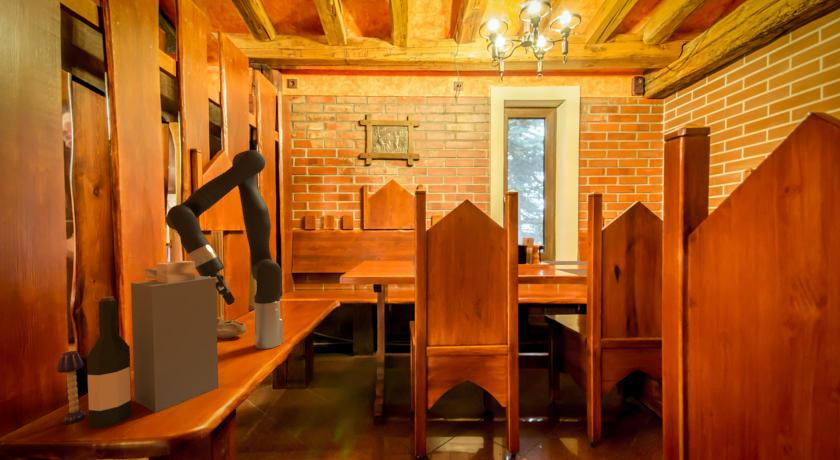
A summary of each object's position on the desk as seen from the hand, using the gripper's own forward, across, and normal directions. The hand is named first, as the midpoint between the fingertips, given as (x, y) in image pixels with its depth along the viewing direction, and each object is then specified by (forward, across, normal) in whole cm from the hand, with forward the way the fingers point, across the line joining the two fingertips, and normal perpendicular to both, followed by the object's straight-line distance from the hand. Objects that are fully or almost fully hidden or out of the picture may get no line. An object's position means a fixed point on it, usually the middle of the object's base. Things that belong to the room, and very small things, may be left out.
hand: (231, 302), depth 124 cm
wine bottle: (+9, -24, +34) cm, 42 cm away
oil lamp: (+15, +37, +9) cm, 41 cm away
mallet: (-16, -14, +10) cm, 24 cm away
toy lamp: (+5, -20, +41) cm, 46 cm away
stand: (+14, -16, +22) cm, 31 cm away
